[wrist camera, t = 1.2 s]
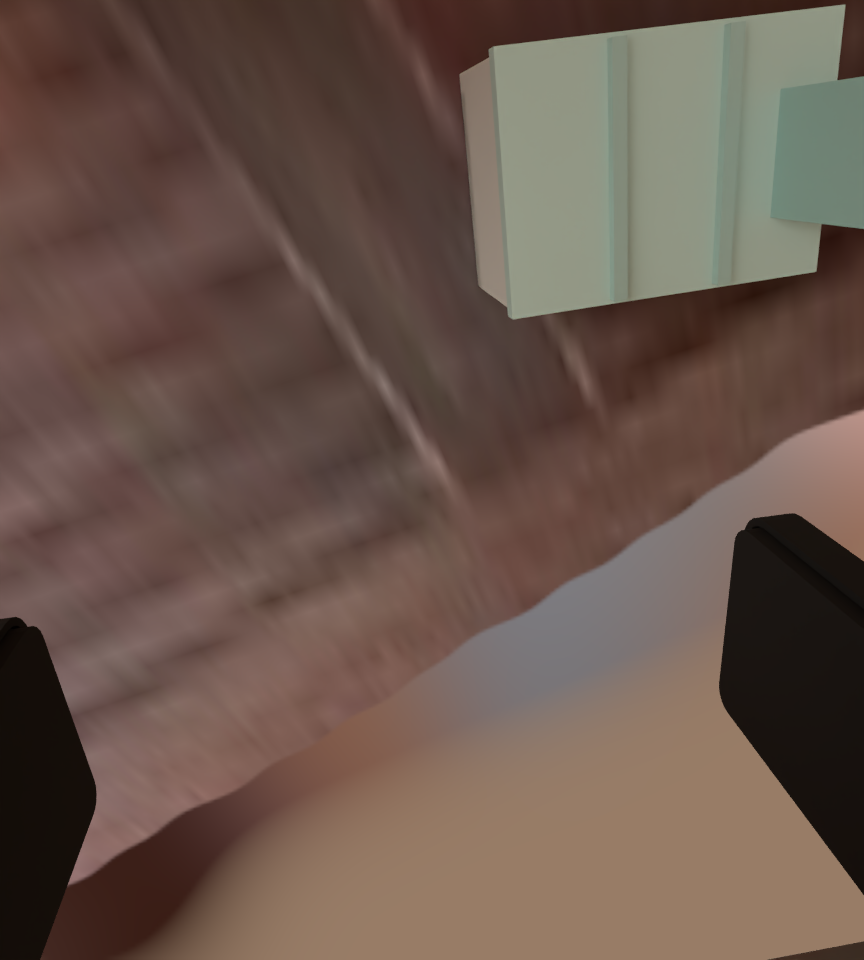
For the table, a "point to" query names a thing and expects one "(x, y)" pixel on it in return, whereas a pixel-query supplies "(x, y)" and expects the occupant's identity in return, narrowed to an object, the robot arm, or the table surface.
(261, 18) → the table surface
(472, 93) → the tub
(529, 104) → the lid
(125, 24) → the table surface
